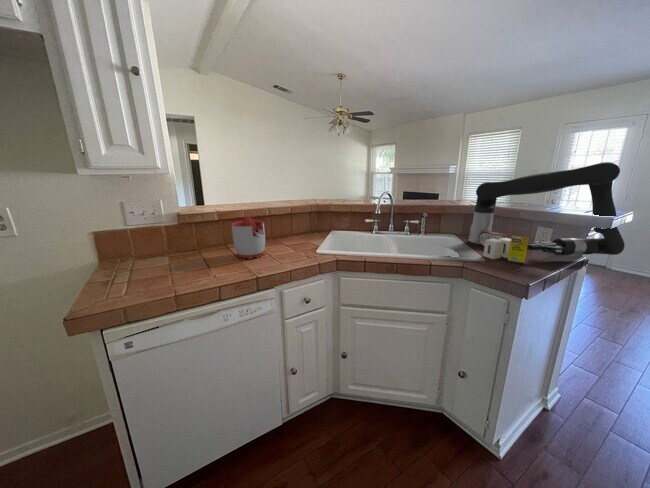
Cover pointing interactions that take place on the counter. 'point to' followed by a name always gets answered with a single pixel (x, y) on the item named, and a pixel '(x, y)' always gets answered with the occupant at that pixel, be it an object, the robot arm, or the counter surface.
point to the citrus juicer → (249, 237)
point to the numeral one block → (493, 248)
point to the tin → (490, 236)
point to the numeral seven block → (505, 247)
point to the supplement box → (518, 249)
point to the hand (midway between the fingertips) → (528, 247)
